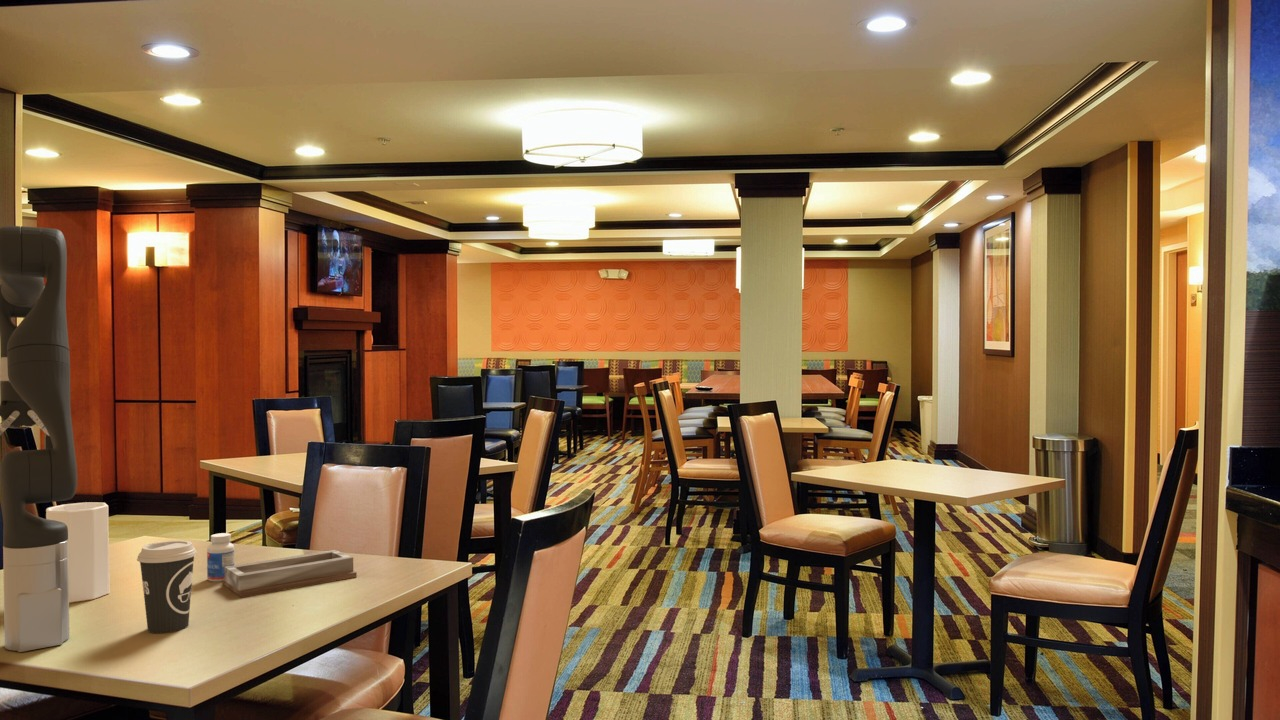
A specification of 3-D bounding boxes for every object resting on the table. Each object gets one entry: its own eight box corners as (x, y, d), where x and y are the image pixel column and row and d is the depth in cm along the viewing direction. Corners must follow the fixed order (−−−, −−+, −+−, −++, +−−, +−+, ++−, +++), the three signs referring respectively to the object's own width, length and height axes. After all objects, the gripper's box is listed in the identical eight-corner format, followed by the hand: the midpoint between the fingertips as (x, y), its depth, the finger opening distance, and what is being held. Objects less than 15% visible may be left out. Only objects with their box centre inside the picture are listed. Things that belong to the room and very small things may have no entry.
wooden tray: (356, 577, 193) (356, 558, 193) (241, 597, 178) (241, 577, 178) (332, 565, 204) (332, 548, 204) (222, 583, 188) (222, 565, 188)
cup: (36, 606, 173) (35, 512, 173) (58, 591, 184) (56, 503, 184) (100, 601, 176) (99, 509, 176) (117, 587, 187) (116, 500, 187)
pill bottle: (201, 580, 192) (201, 535, 192) (223, 574, 197) (223, 531, 196) (218, 583, 189) (217, 538, 189) (239, 577, 194) (239, 533, 194)
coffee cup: (184, 616, 165) (183, 537, 165) (207, 626, 159) (206, 543, 159) (129, 629, 158) (127, 546, 157) (151, 639, 152) (150, 553, 151)
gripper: (-19, 379, 177) (-18, 459, 177) (64, 378, 187) (65, 453, 187) (-22, 379, 183) (-21, 456, 183) (59, 377, 192) (60, 451, 192)
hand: (22, 455), depth 185 cm, fingers open, 8 cm apart
